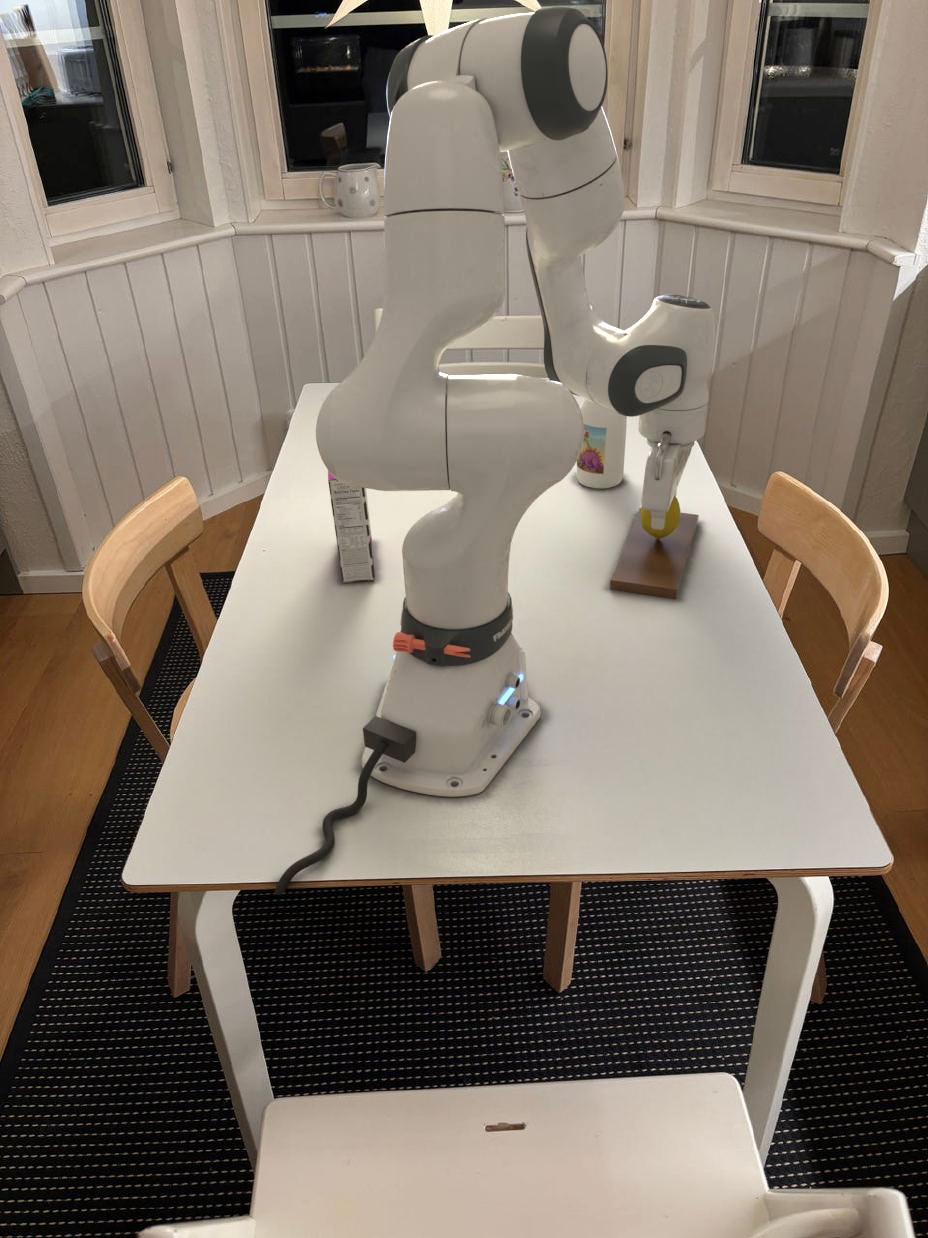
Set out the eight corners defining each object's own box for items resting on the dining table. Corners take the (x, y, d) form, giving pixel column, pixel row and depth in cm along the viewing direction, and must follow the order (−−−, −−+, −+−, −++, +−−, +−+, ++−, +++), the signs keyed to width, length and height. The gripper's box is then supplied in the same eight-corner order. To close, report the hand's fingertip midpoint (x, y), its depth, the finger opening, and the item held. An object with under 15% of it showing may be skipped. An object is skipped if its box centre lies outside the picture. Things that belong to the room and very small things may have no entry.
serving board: (676, 599, 128) (677, 589, 127) (609, 589, 130) (610, 579, 129) (697, 523, 145) (698, 514, 144) (638, 516, 147) (639, 507, 146)
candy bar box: (339, 545, 143) (326, 443, 133) (372, 542, 143) (362, 441, 134) (340, 584, 133) (326, 478, 124) (375, 581, 134) (365, 475, 125)
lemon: (677, 549, 136) (682, 498, 131) (637, 546, 137) (641, 496, 132) (677, 530, 140) (682, 481, 136) (639, 528, 141) (643, 479, 136)
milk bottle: (610, 466, 162) (617, 350, 151) (631, 485, 156) (639, 366, 145) (568, 473, 160) (572, 357, 149) (587, 493, 154) (593, 373, 143)
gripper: (684, 452, 118) (674, 549, 126) (706, 395, 134) (696, 484, 142) (634, 446, 120) (627, 543, 128) (661, 391, 136) (654, 480, 144)
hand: (663, 512), depth 135 cm, fingers open, 8 cm apart
